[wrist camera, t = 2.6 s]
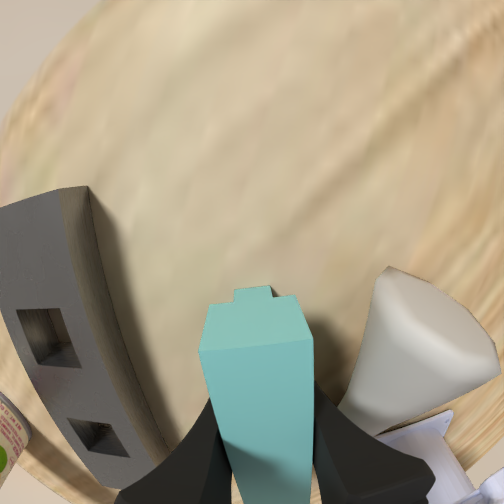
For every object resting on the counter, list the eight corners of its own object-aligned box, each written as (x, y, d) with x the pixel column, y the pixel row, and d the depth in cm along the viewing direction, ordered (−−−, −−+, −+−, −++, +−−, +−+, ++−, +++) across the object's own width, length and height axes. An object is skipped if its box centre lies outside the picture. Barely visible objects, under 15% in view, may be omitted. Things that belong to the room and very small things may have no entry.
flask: (524, 387, 6) (377, 501, 10) (476, 303, 13) (384, 415, 17) (385, 320, 8) (260, 465, 12) (374, 247, 14) (295, 377, 18)
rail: (180, 471, 17) (175, 496, 15) (110, 463, 17) (102, 485, 15) (87, 185, 12) (58, 189, 10) (6, 209, 12) (-23, 216, 10)
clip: (294, 423, 16) (309, 503, 10) (245, 429, 16) (246, 510, 10) (284, 268, 13) (313, 338, 7) (216, 276, 13) (198, 351, 7)
